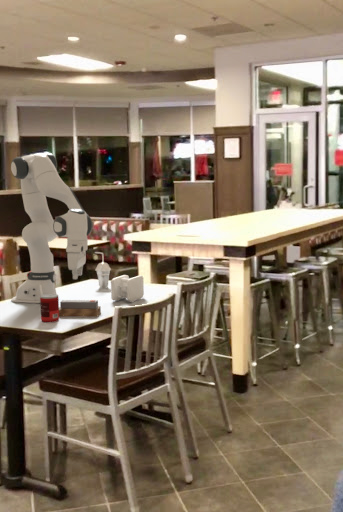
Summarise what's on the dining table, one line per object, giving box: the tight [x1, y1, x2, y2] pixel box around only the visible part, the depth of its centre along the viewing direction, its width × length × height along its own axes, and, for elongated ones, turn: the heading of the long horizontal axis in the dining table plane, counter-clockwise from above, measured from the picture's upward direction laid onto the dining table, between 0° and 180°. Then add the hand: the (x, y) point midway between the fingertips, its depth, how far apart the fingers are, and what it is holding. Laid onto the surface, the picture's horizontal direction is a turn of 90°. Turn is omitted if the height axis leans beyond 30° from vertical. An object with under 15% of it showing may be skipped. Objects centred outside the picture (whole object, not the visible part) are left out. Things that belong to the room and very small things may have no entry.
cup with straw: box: [94, 251, 112, 289], centre depth 369 cm, size 8×9×20 cm
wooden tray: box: [59, 305, 102, 318], centre depth 305 cm, size 18×8×3 cm, turn 85°
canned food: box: [39, 293, 60, 323], centre depth 294 cm, size 8×8×11 cm
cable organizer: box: [110, 274, 145, 303], centre depth 336 cm, size 15×11×12 cm
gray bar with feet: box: [59, 299, 99, 309], centre depth 305 cm, size 16×4×6 cm, turn 85°
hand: (77, 277), depth 303 cm, fingers open, 8 cm apart
